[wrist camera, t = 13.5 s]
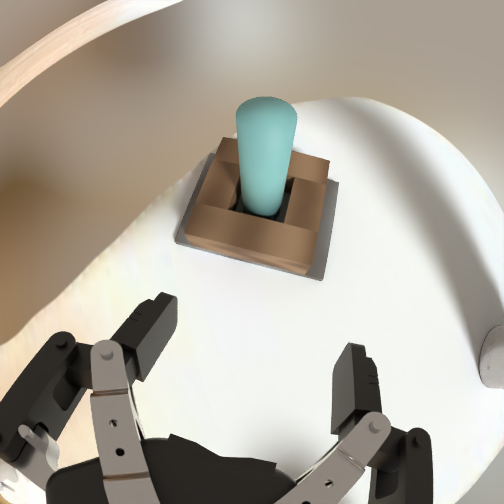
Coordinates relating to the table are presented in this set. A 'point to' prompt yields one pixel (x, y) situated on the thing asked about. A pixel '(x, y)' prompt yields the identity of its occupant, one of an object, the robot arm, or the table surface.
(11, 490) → the white toy figurine
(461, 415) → the table surface
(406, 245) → the table surface
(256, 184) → the peg
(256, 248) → the socket
